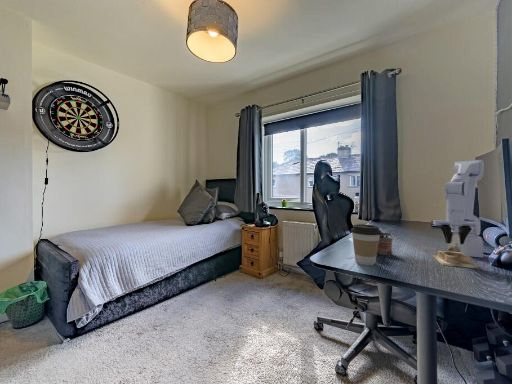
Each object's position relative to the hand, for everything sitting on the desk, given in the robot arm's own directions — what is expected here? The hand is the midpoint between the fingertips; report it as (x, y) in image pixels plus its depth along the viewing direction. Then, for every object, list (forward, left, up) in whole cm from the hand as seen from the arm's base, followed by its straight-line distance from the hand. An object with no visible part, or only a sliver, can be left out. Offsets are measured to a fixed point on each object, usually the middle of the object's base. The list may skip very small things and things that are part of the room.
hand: (454, 243), depth 98 cm
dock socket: (0, 0, -8) cm, 8 cm away
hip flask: (+26, -4, -8) cm, 28 cm away
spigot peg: (0, 0, -3) cm, 3 cm away
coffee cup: (+35, +14, -8) cm, 39 cm away
